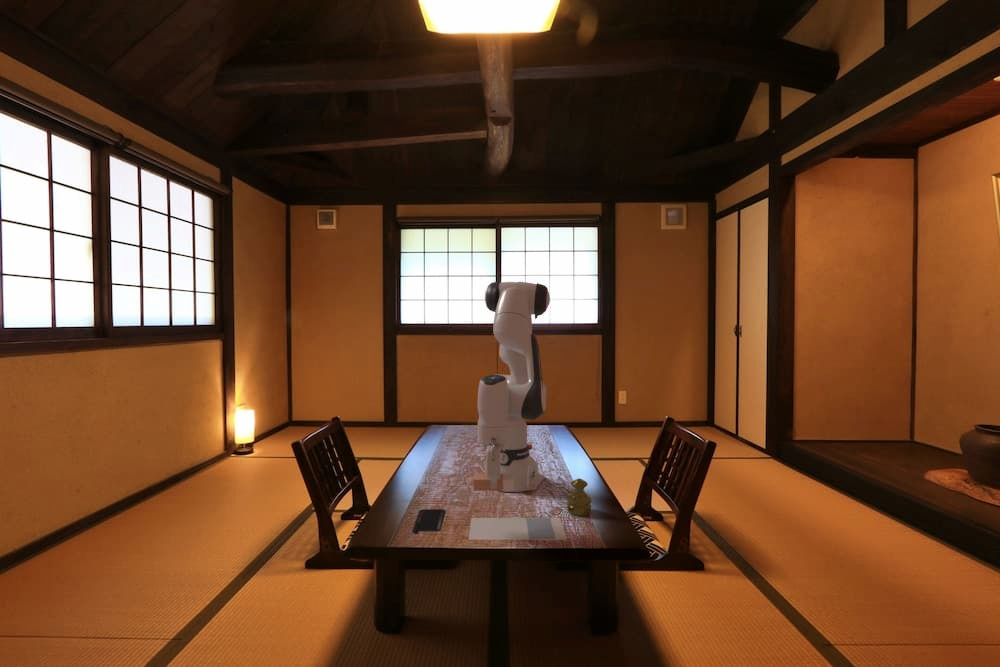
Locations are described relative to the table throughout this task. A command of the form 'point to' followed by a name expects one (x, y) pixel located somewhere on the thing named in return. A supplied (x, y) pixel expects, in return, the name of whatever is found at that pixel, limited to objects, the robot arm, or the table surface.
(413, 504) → the table surface
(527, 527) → the mat
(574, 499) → the olive green vase
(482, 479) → the two-tone tall block
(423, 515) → the phone
